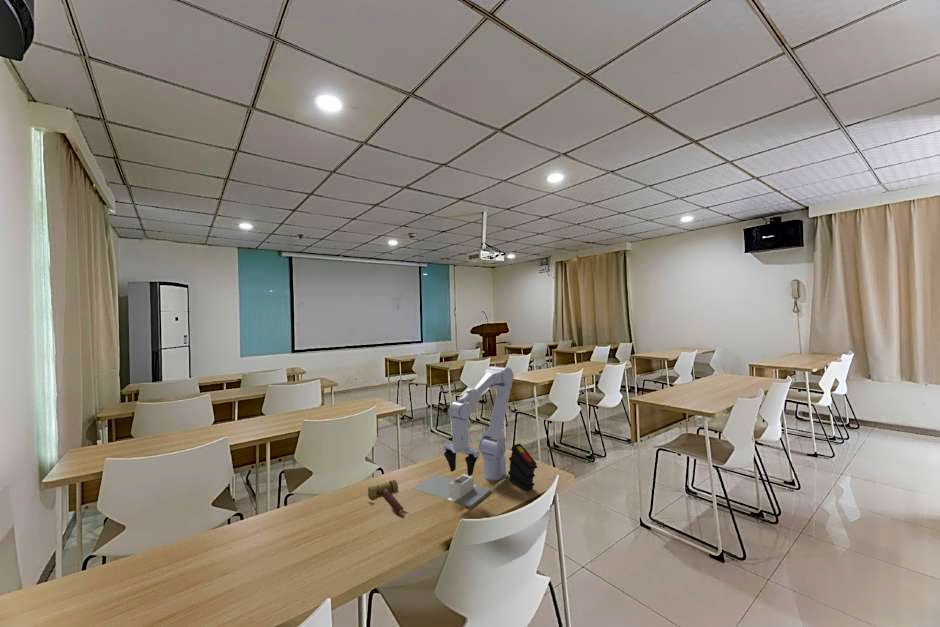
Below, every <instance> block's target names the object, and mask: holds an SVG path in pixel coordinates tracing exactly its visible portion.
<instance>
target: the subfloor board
mask: <svg viewBox="0 0 940 627" xmlns="http://www.w3.org/2000/svg"><path fill="white" fill-rule="evenodd" d="M455 479H456V478H455ZM455 479H454V478H450V477H447V476H443V475H439V474H434V475H432V476H430V477H429V478H427V479H425V480H424V481H422V482H420V483H418V484H417V485H415V486H414V487H412V488H411V489H412V490H416V491H419V492H421V493H425V494H428V495H431V496H435V497H439V498H440V499H444V500H448V501H452V502H453V503H457V504H461V505H464V506H465V507H464V508H465V509H467V508H468V509H467V510H471V509H472V508H473V507H475V506H476V505H477V504H478V503H480V502H481V501H482V500H483V499H485V498H486V497H487V496H488V495H489V494H490V493H492V489H491V488H487V487H483V486H479V485H476V484H474V489H473V490H471V491H470V492H469V493H467V494H466V495H465V496H463V497H462V498H461V499H459V498H455V497H452V496H450V483H451V482H452V481H454V480H455Z"/></svg>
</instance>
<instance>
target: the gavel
mask: <svg viewBox="0 0 940 627" xmlns="http://www.w3.org/2000/svg"><path fill="white" fill-rule="evenodd" d="M398 491H399V485H398V482H397V480H396V479H391V480H389V482H385V483H380V484H378V485H371V486H368V488H367V494H368V496H369V499H370V500H371V501H372V500H374V498H377V497H378V496H383V497H384V499H385V500H386V501H387V502H388V504H389V505H390V507H392V510H393V511H394V512H395V513H396V514H397V515H399V516H401V517H404V516H405V510H404V507H403V506H402V505H401V504H400V503H399V501H398V500H397V499H396V498H395V496H394V494H392V492H393V493H394V492H398Z"/></svg>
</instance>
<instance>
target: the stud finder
mask: <svg viewBox="0 0 940 627" xmlns="http://www.w3.org/2000/svg"><path fill="white" fill-rule="evenodd" d="M474 477H475V476H473V475H471V476H468V473H467V474H465V473H463V474H461V475H460V476H458V477H457V478H455V480H454V481H452V482H451V483H450V496H452V497H455V498H459V499H461V498H462V497H463V496H465V495H466V494H467V493H469V492H470V491H471V490H473V489H474V485H475V482H474V481H475V480H474V479H475V478H474Z"/></svg>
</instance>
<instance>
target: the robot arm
mask: <svg viewBox="0 0 940 627" xmlns="http://www.w3.org/2000/svg"><path fill="white" fill-rule="evenodd" d="M514 378H515V374H514V373H513V369H511V367H503V366H495V365H490V366H488V368H487V369H485V371H484V376H483V377H482V378H481V379H480V380H479V381H478V383H477V384H476V385H475V387H470V388H468V389H466V392H464V394H463V395H462V396H461V397H460V398H458V400H457V401H453V402H452V403H451V404H450V405H449V407H448V410H447V413H448V416H449V417H450V422H451V432H452V433H451V434H452V443H444V444H443V445H442V447H443V448H442V449H443V451H445V452H444V453H443V456H444V457H445V459H446V461H447V463H448V466H449V469H450V472H454V471H456V467H457V459H456V458H457V454H463V455H467V456H465V457H464V458H465V459H464V460H465V463H466V467H467V468H466V470H467V475H468V476H473V474H474V469H475V465H476V463H477V460H478V458H479V457H480V453H481V456H482V457H483V459H482V460H483V461H482V462H483V477H484V479H486V480H488V481H496V482H495V483H494V484H495V485H498V484H499V483H500V482H502V481H503V480H504V479H505V478H507V477H508V476H509V474H508V473H507V463H506V462H507V461H506V457H505V453H506V442H507V438H506V436H504V434H503V433H502V432H503V426H504V423H505V422H504V421H505V419H506V418H505V417H506V413H507V409H508V404H509V400H510V395H511V389H512V386H513V381H514ZM491 386H492V387H494V388H495V390H496V392H495V399H494V403H493V407H492V411H491V416H490V421H489V426H488V429H487V430H485V431H484V432H483V433H482V434H481V437H480V440H479V442H478V449H475V448H473V447H472V446H469V424H468V423H469V421H468V419H469V418H470V417H471V413H472V411H473V408H474V407H475V406H476V405H477V404H478V403H479V402H480V401H481V396H482V395H483V393H485V391H487V390H488V389H489V388H490V387H491Z"/></svg>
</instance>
